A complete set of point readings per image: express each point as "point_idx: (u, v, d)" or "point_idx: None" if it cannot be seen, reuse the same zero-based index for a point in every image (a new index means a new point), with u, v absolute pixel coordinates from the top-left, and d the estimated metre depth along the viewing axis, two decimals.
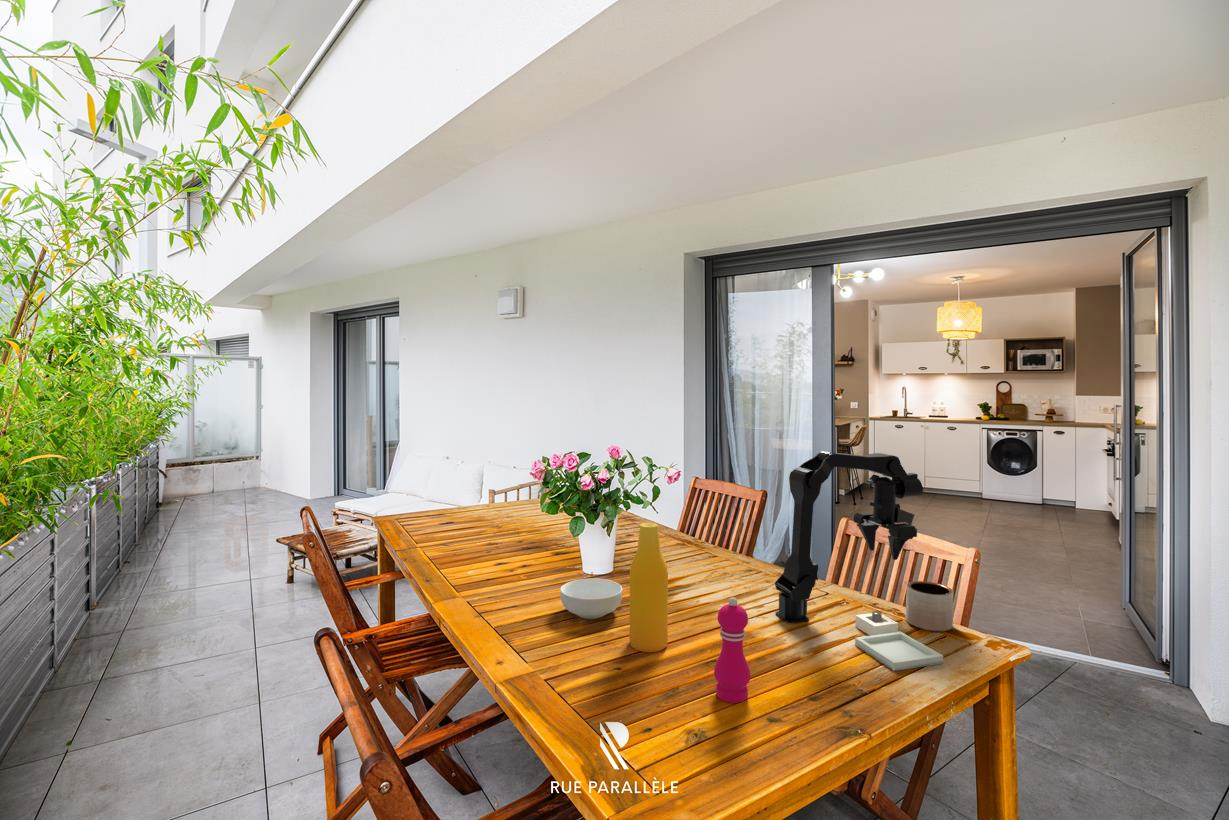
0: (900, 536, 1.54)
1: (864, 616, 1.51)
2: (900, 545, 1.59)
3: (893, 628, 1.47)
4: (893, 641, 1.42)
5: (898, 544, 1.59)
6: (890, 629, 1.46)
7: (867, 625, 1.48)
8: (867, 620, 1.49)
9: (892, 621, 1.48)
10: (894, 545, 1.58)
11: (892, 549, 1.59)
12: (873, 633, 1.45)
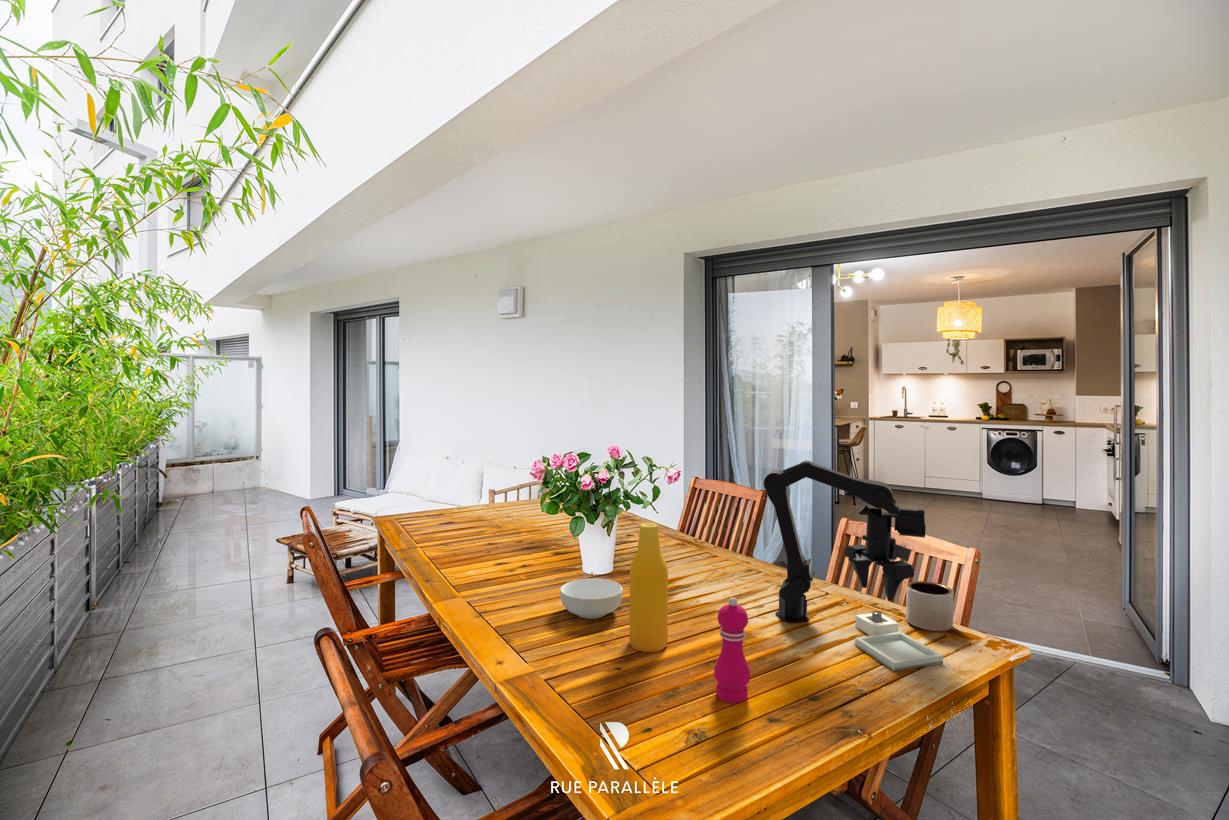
0: (895, 576, 1.39)
1: (864, 616, 1.51)
2: (895, 585, 1.43)
3: (893, 628, 1.47)
4: (893, 641, 1.42)
5: (893, 584, 1.43)
6: (890, 629, 1.46)
7: (867, 625, 1.48)
8: (867, 620, 1.49)
9: (892, 621, 1.48)
10: (889, 585, 1.42)
11: (886, 589, 1.43)
12: (873, 633, 1.45)
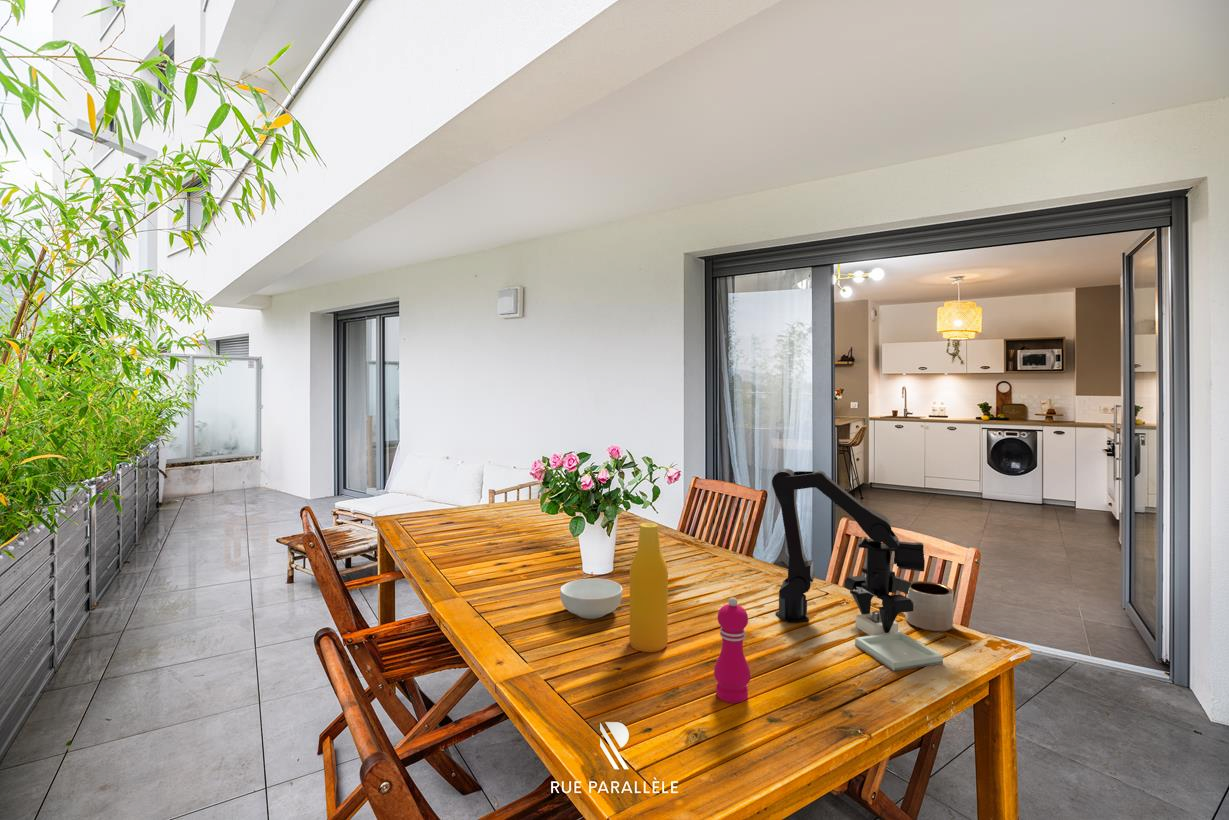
0: (895, 611, 1.39)
1: (864, 616, 1.51)
2: (892, 617, 1.45)
3: (893, 628, 1.47)
4: (893, 641, 1.42)
5: (890, 616, 1.45)
6: (890, 629, 1.46)
7: (867, 625, 1.48)
8: (867, 620, 1.49)
9: None
10: (885, 618, 1.44)
11: (883, 622, 1.45)
12: (873, 633, 1.45)
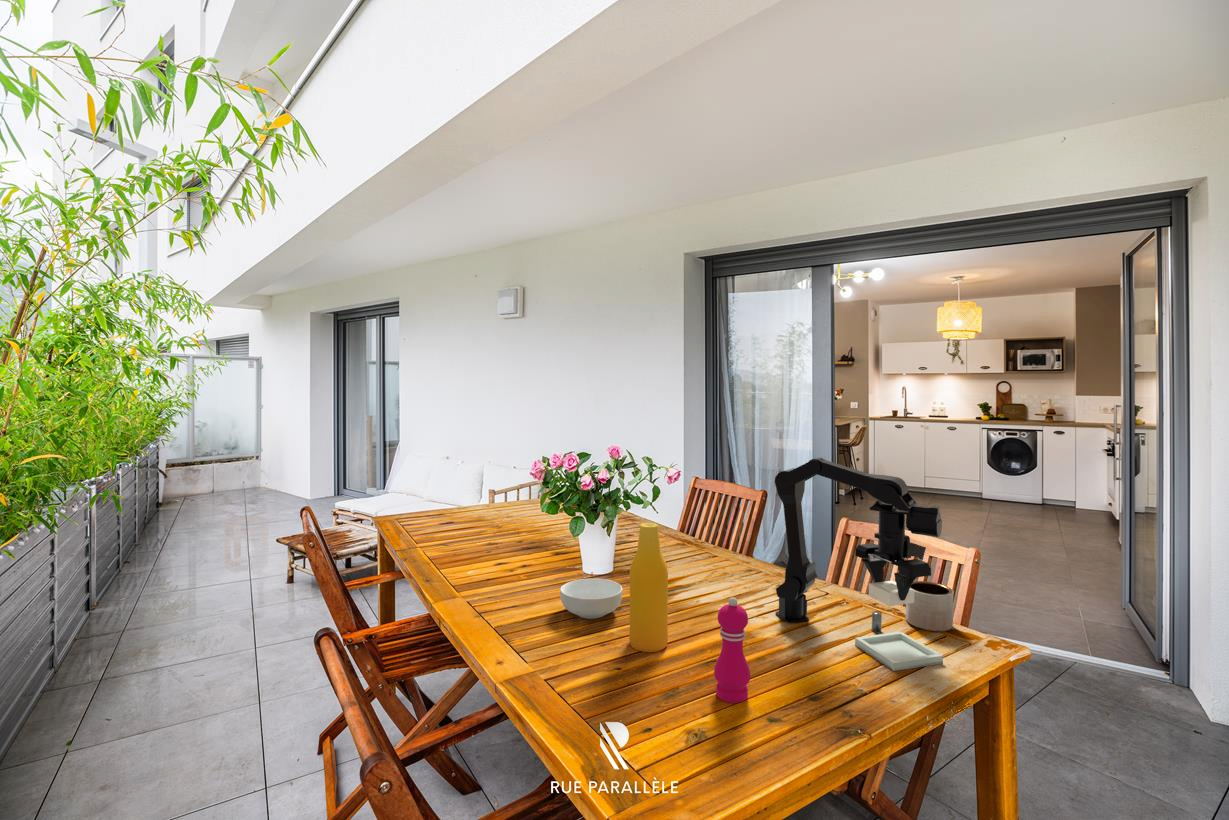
0: (912, 575, 1.32)
1: (878, 585, 1.43)
2: (908, 583, 1.37)
3: (909, 595, 1.39)
4: (893, 641, 1.42)
5: (906, 582, 1.37)
6: (906, 596, 1.39)
7: (882, 593, 1.40)
8: (881, 588, 1.41)
9: None
10: (902, 584, 1.36)
11: (899, 588, 1.37)
12: (889, 601, 1.38)
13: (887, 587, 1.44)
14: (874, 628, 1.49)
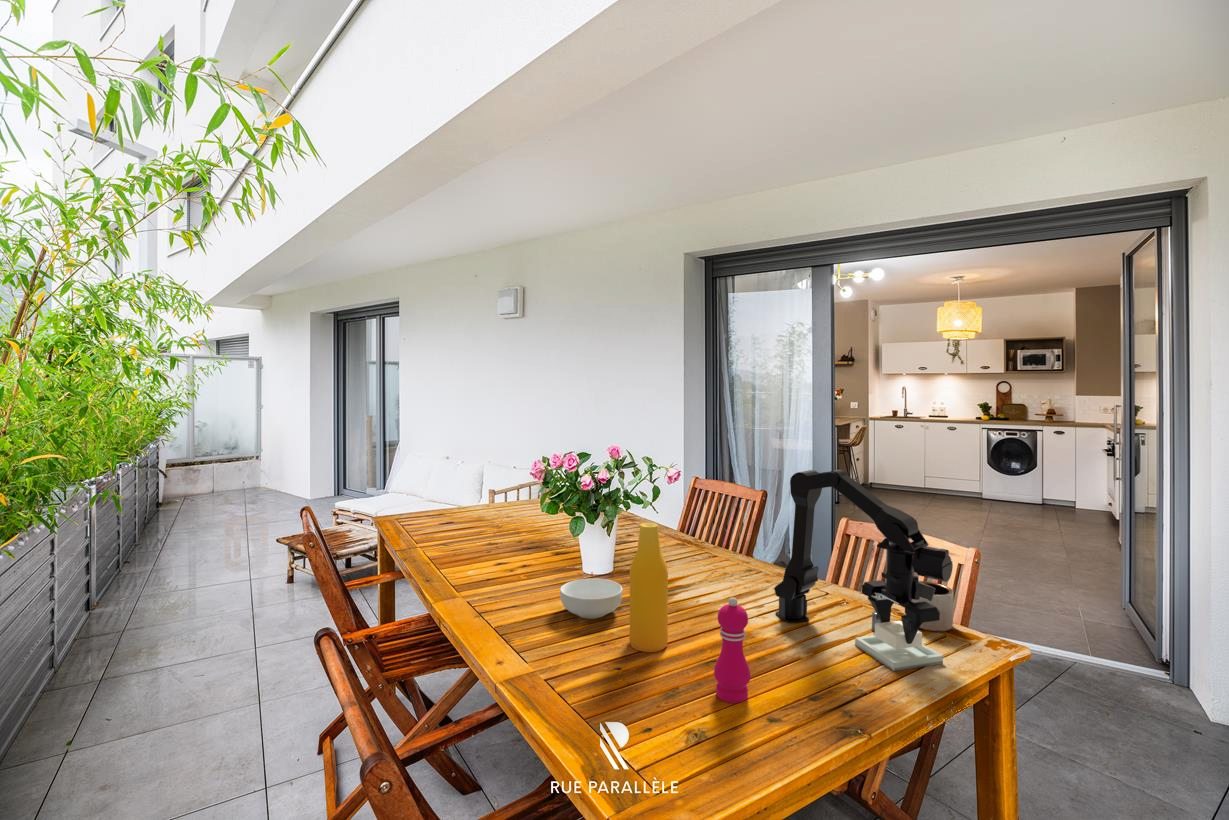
0: (919, 620, 1.27)
1: (884, 625, 1.38)
2: (916, 627, 1.32)
3: (916, 638, 1.34)
4: None
5: (913, 625, 1.32)
6: None
7: (888, 635, 1.35)
8: (888, 629, 1.36)
9: None
10: (908, 627, 1.31)
11: (906, 631, 1.32)
12: (895, 644, 1.33)
13: (894, 628, 1.39)
14: (874, 628, 1.49)
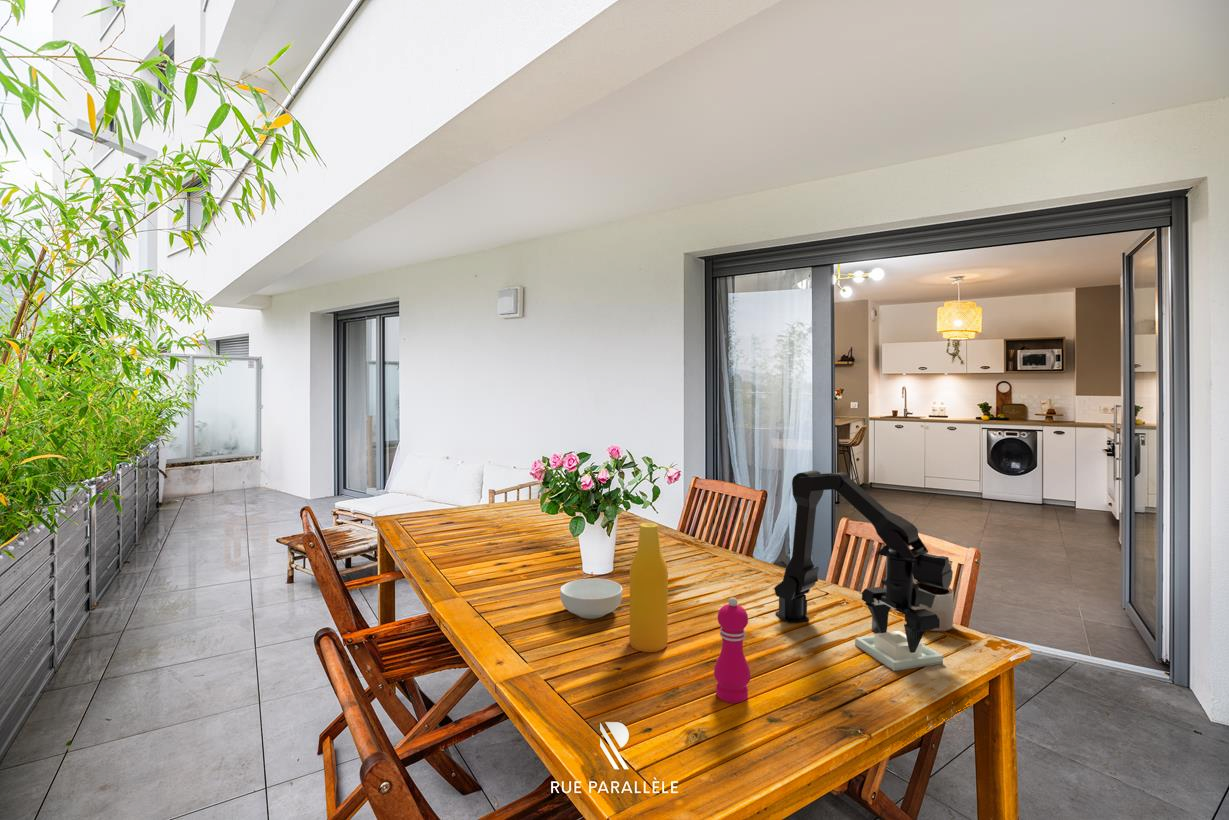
0: (919, 628, 1.27)
1: (884, 636, 1.38)
2: (919, 636, 1.31)
3: (916, 649, 1.34)
4: None
5: (916, 634, 1.31)
6: None
7: (888, 645, 1.35)
8: (888, 640, 1.36)
9: None
10: (912, 636, 1.30)
11: (909, 640, 1.31)
12: (895, 655, 1.33)
13: (894, 638, 1.39)
14: (874, 628, 1.49)
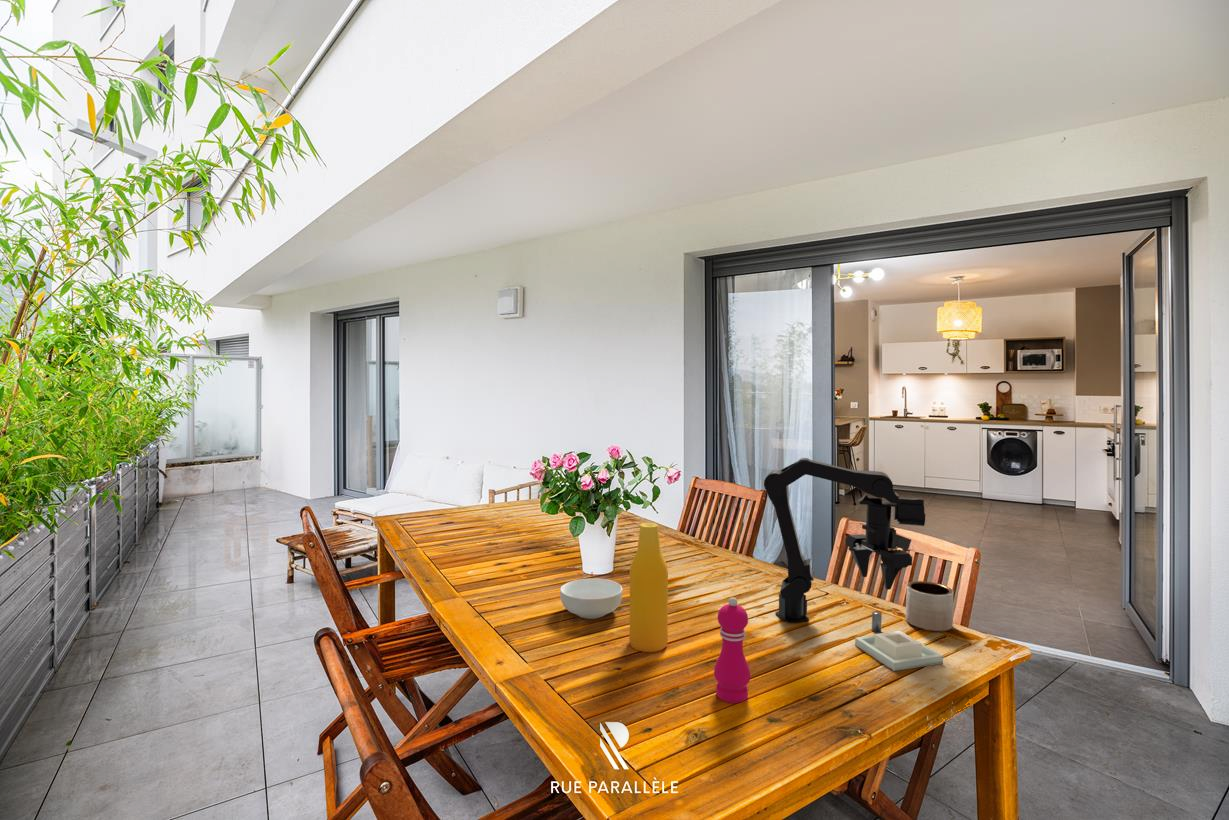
0: (893, 564, 1.40)
1: (884, 636, 1.38)
2: (894, 574, 1.44)
3: (916, 649, 1.34)
4: None
5: (891, 572, 1.44)
6: (913, 650, 1.34)
7: (888, 645, 1.35)
8: (888, 640, 1.36)
9: (915, 641, 1.35)
10: (887, 574, 1.44)
11: (885, 578, 1.44)
12: (895, 655, 1.33)
13: (894, 638, 1.39)
14: (874, 628, 1.49)
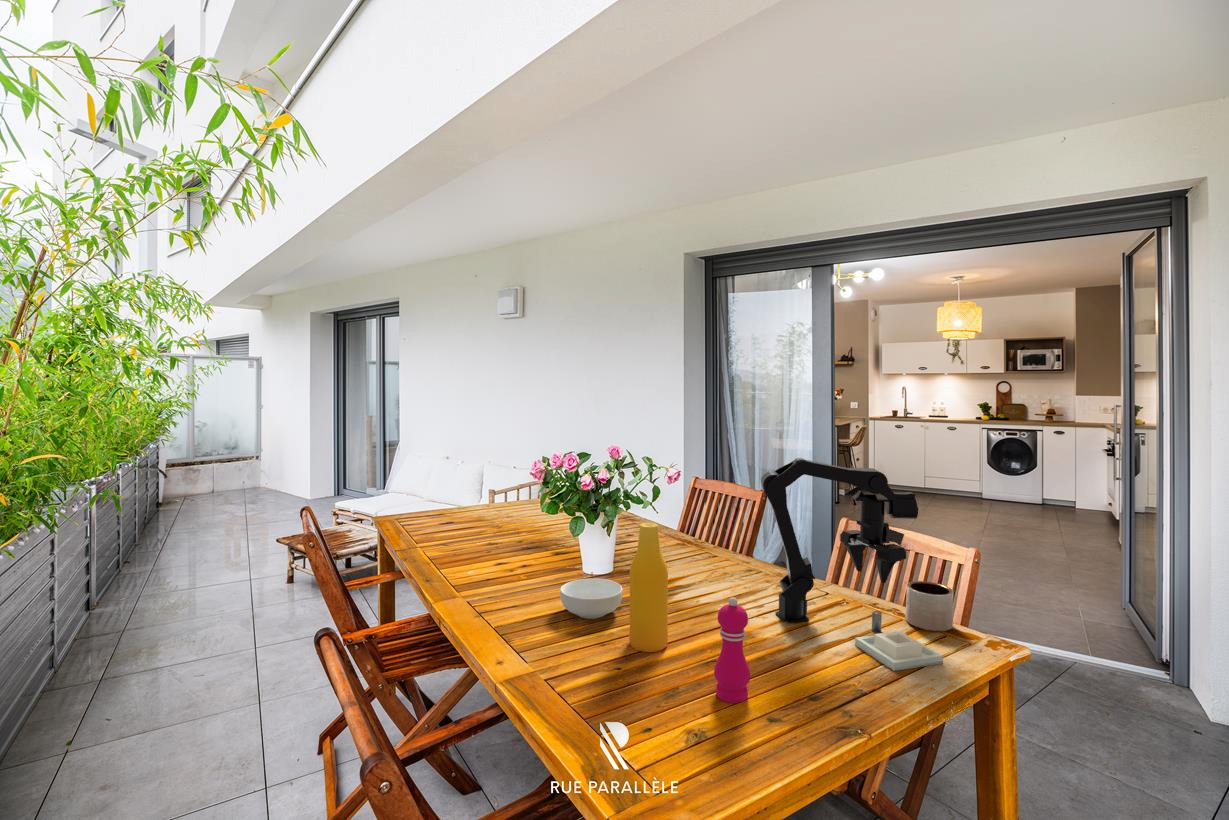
0: (888, 558, 1.44)
1: (884, 636, 1.38)
2: (889, 567, 1.48)
3: (916, 649, 1.34)
4: None
5: (886, 566, 1.48)
6: (913, 650, 1.34)
7: (888, 645, 1.35)
8: (888, 640, 1.36)
9: (915, 641, 1.35)
10: (882, 567, 1.48)
11: (880, 572, 1.48)
12: (895, 655, 1.33)
13: (894, 638, 1.39)
14: (874, 628, 1.49)
